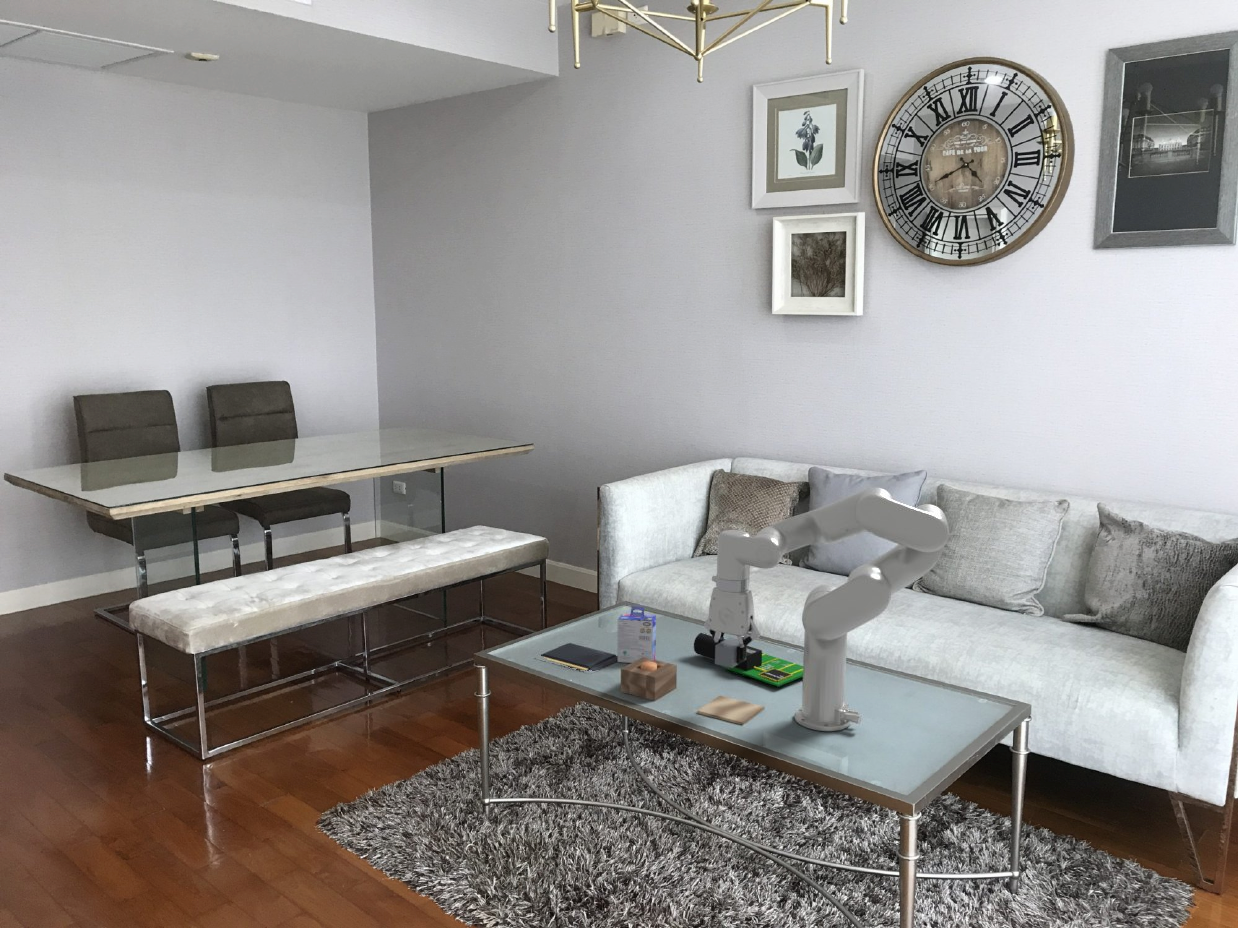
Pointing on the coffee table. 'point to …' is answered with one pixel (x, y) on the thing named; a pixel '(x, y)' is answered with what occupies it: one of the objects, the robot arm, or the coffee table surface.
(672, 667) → the walnut housing
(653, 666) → the orange ball
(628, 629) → the ink cartridge box
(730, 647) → the gray rectangular block
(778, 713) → the coffee table surface
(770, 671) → the circuit board with cylinder
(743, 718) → the oak board
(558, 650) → the wallet
